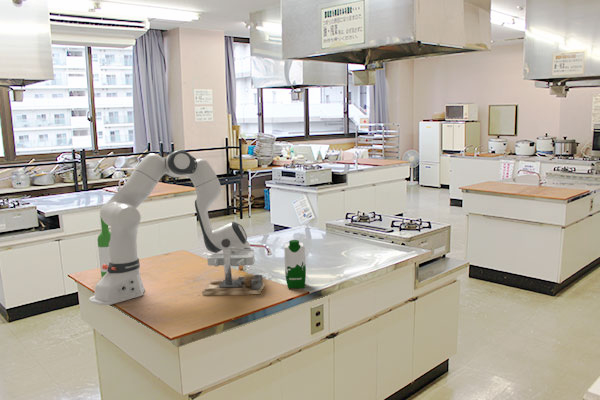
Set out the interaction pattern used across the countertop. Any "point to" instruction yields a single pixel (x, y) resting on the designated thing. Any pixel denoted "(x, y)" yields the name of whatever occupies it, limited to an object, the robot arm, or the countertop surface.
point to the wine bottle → (104, 247)
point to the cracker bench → (248, 288)
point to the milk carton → (295, 264)
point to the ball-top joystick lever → (229, 268)
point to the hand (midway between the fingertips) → (227, 264)
